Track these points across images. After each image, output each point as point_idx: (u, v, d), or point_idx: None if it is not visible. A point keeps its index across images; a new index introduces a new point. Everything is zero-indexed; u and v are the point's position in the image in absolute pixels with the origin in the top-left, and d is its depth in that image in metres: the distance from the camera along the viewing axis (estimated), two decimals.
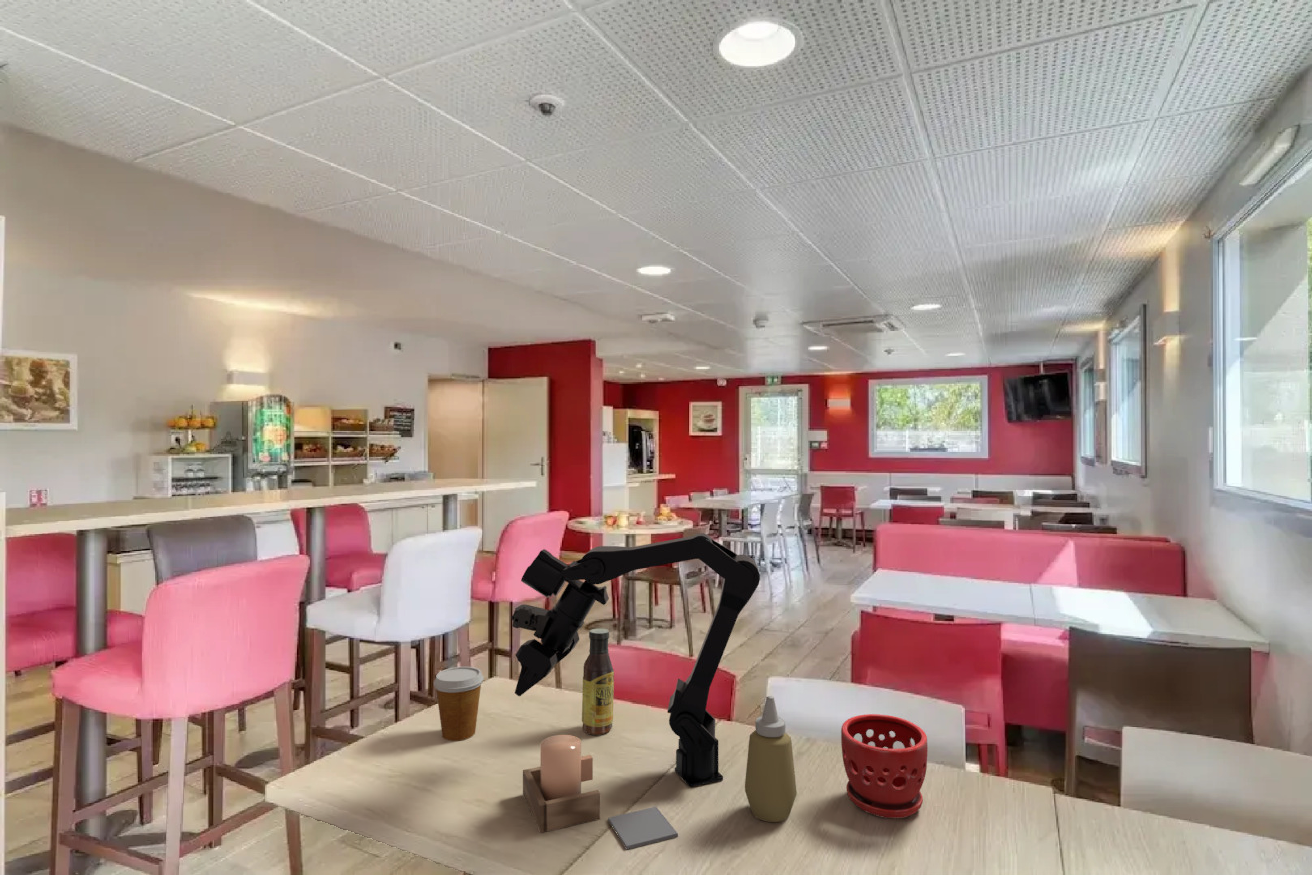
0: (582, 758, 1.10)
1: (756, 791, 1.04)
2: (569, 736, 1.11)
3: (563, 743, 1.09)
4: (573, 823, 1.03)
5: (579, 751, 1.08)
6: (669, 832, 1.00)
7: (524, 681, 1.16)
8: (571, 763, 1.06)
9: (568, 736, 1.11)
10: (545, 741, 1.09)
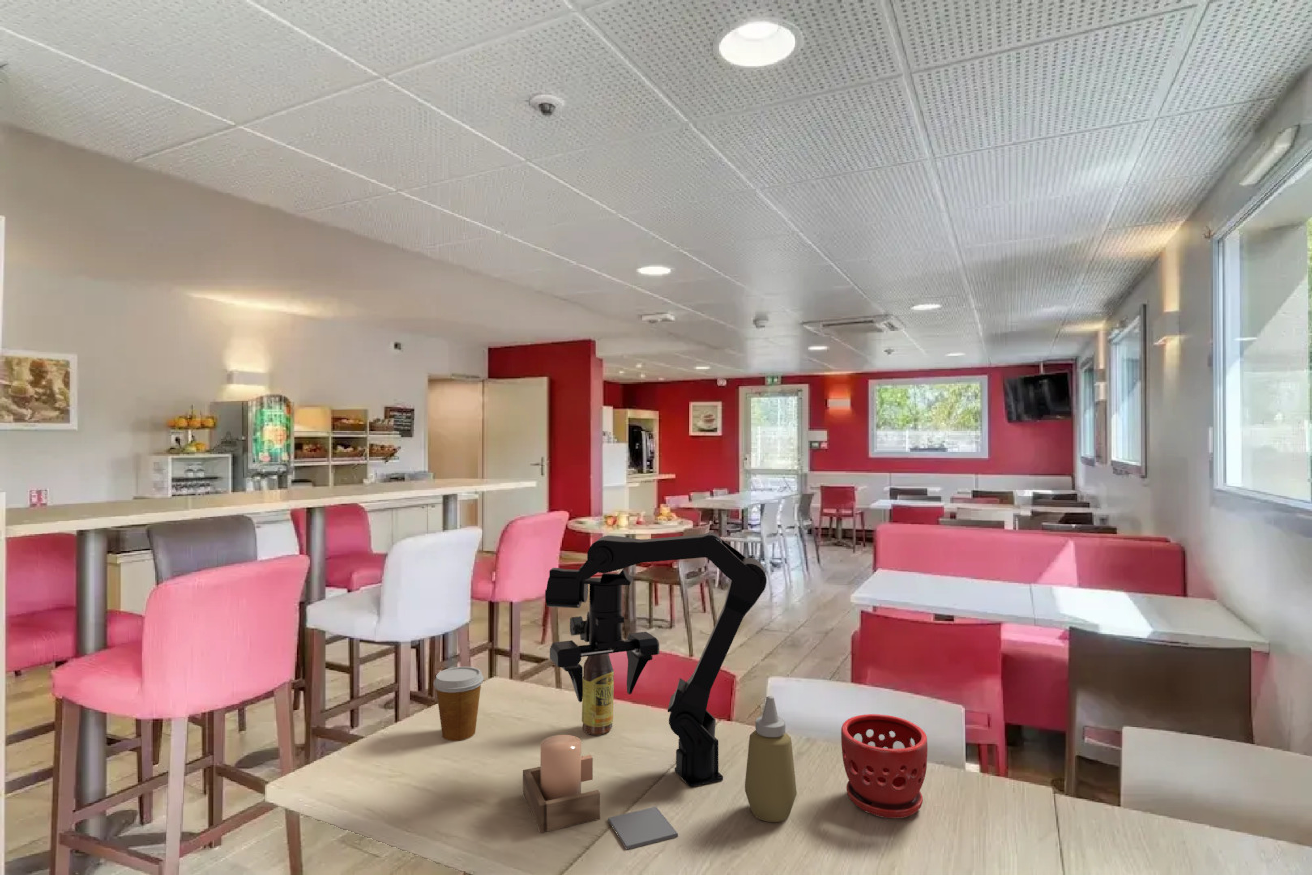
0: (582, 758, 1.10)
1: (756, 791, 1.04)
2: (569, 736, 1.11)
3: (563, 743, 1.09)
4: (573, 823, 1.03)
5: (579, 751, 1.08)
6: (669, 832, 1.00)
7: (574, 684, 1.18)
8: (570, 763, 1.06)
9: (568, 736, 1.11)
10: (545, 741, 1.09)
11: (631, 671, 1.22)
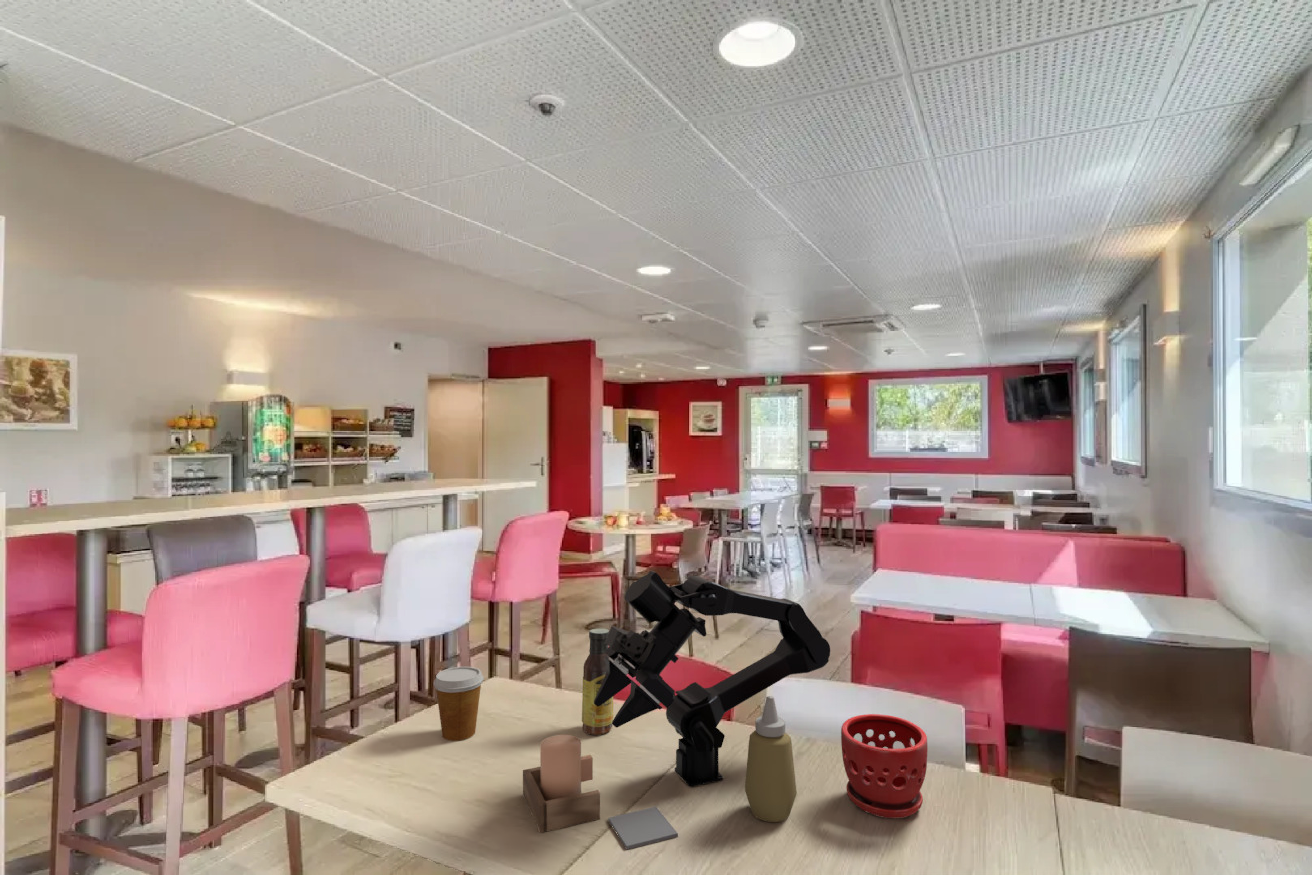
0: (582, 758, 1.10)
1: (756, 791, 1.04)
2: (569, 736, 1.11)
3: (563, 743, 1.09)
4: (573, 823, 1.03)
5: (579, 751, 1.08)
6: (669, 832, 1.00)
7: (629, 712, 1.07)
8: (570, 763, 1.06)
9: (568, 736, 1.11)
10: (545, 741, 1.09)
11: (613, 687, 1.17)
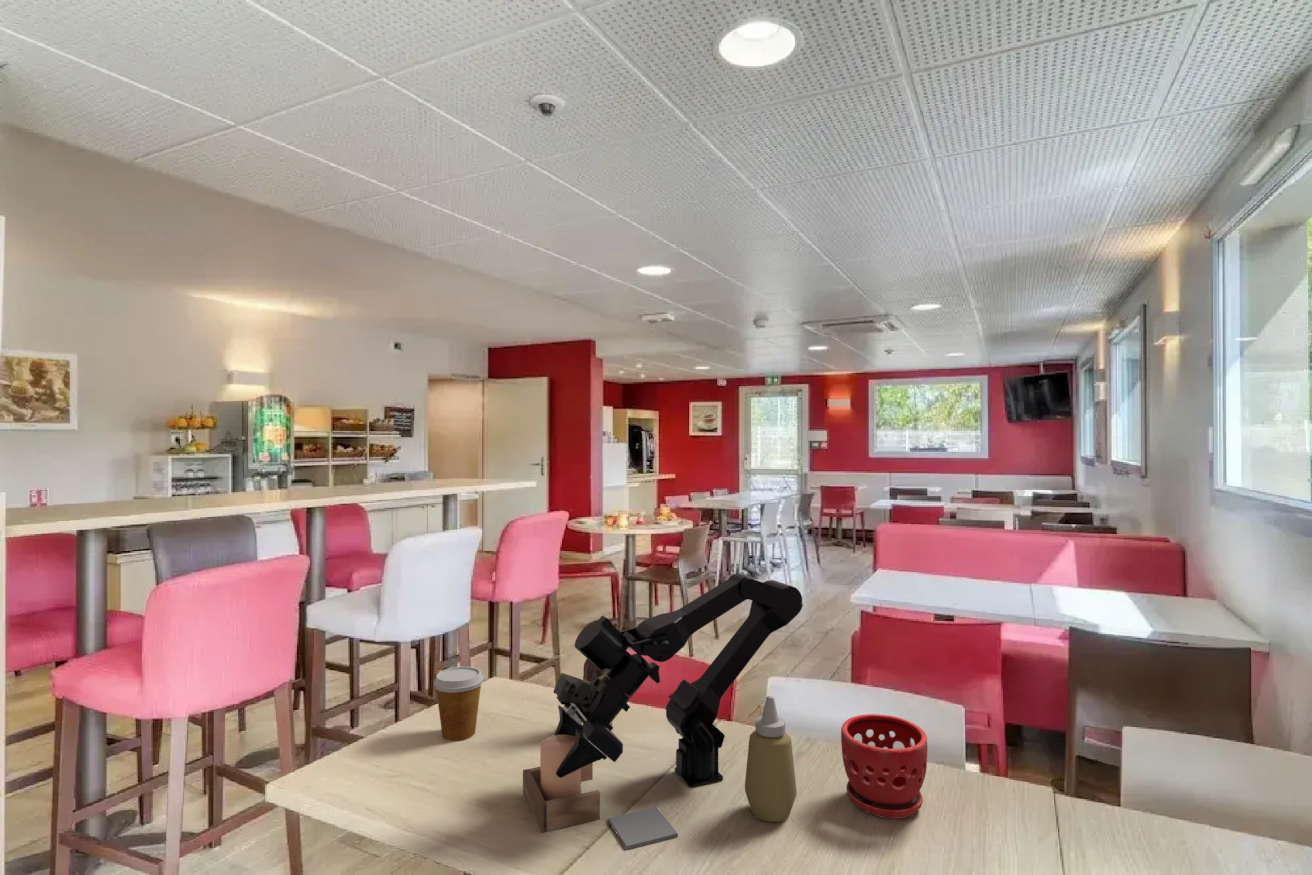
0: None
1: (756, 791, 1.04)
2: (569, 736, 1.11)
3: (563, 743, 1.09)
4: (573, 823, 1.03)
5: None
6: (669, 832, 1.00)
7: (574, 762, 1.05)
8: None
9: (568, 736, 1.11)
10: (545, 741, 1.09)
11: None
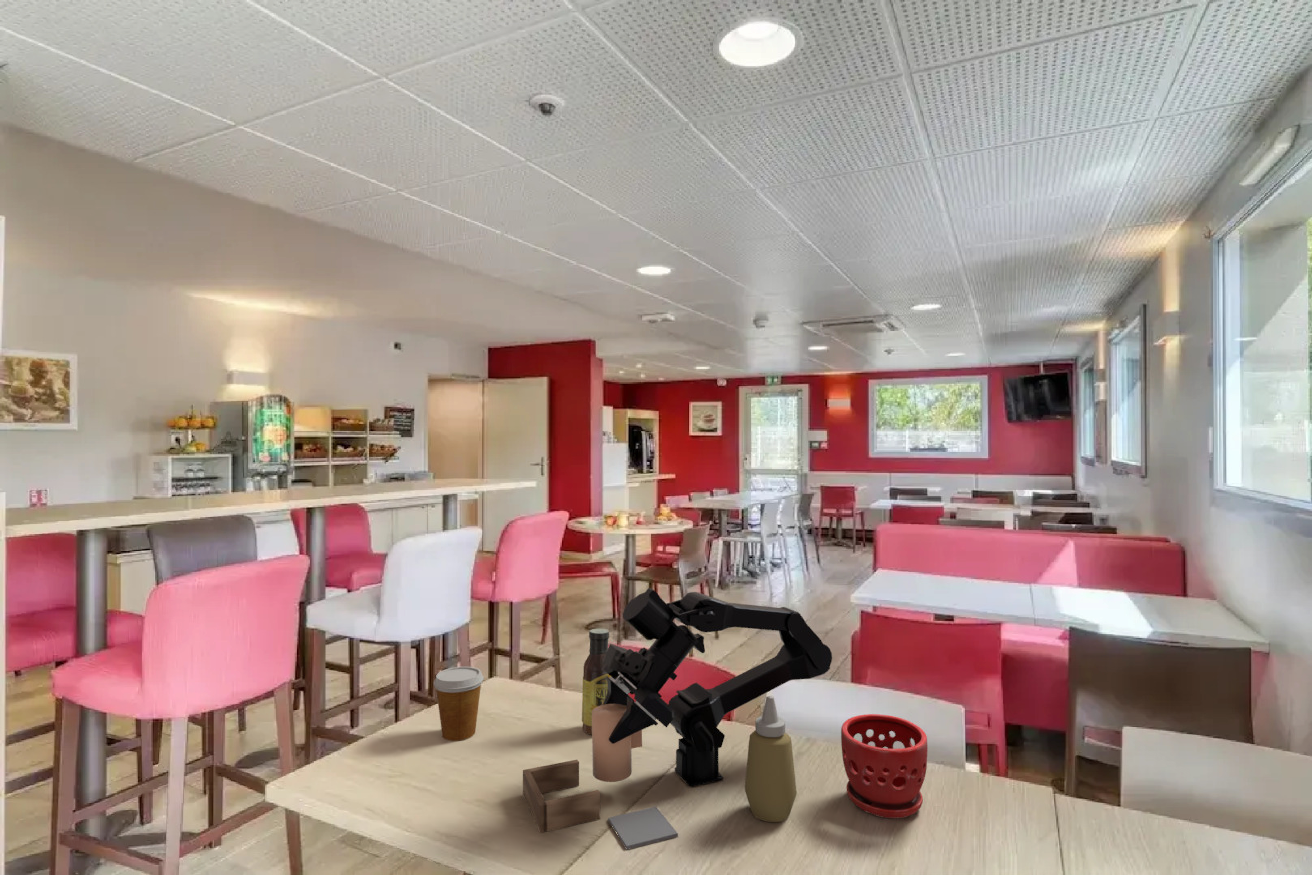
0: None
1: (756, 791, 1.04)
2: (618, 705, 1.15)
3: (613, 711, 1.12)
4: (573, 823, 1.03)
5: None
6: (669, 832, 1.00)
7: (626, 728, 1.08)
8: None
9: (617, 705, 1.15)
10: (596, 709, 1.13)
11: None
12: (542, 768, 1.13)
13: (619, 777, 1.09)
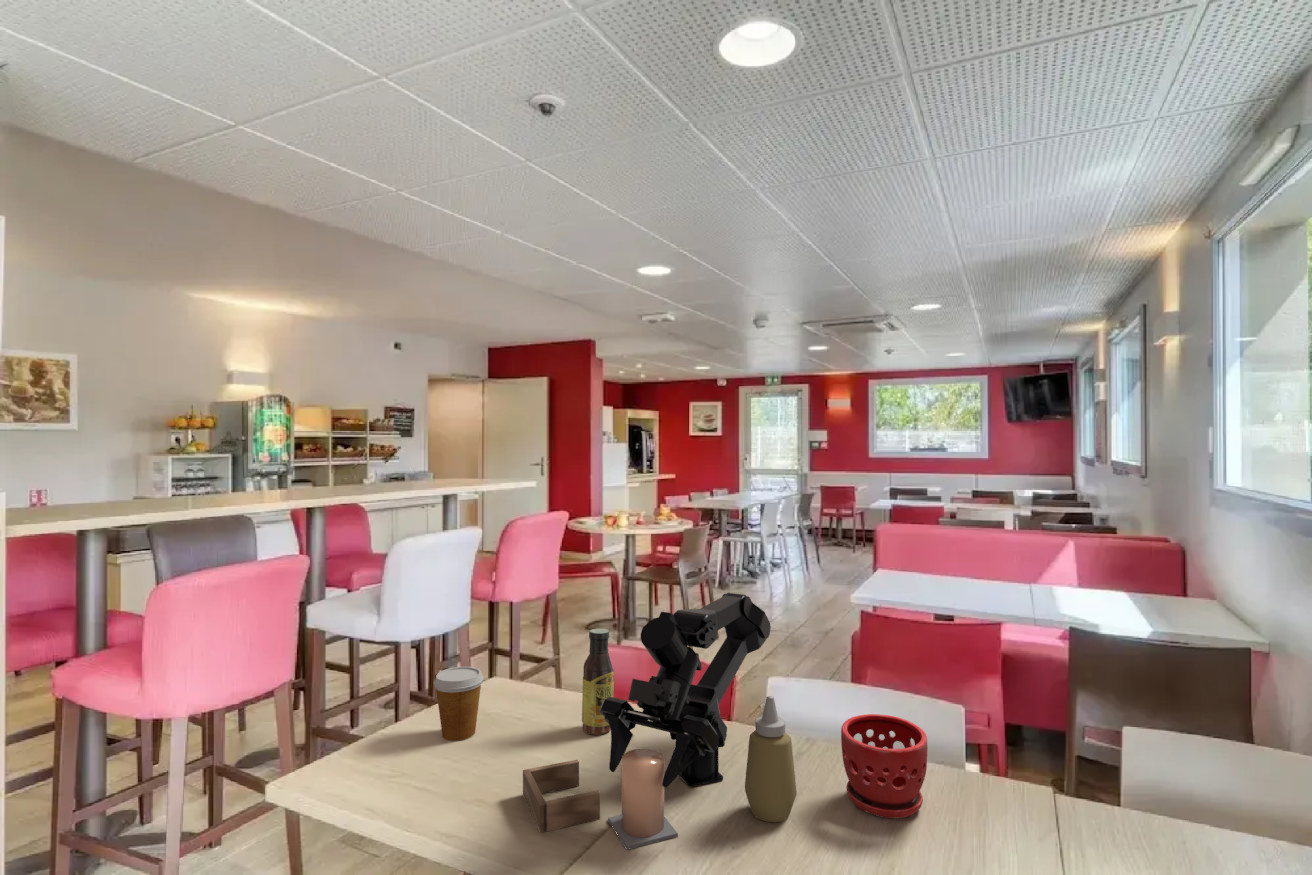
0: None
1: (756, 791, 1.04)
2: (639, 750, 1.05)
3: (645, 757, 1.03)
4: (573, 823, 1.03)
5: None
6: (669, 832, 1.00)
7: (678, 767, 1.00)
8: (663, 774, 1.02)
9: (638, 750, 1.05)
10: (626, 761, 1.02)
11: (622, 745, 1.06)
12: (542, 768, 1.13)
13: (661, 827, 1.01)
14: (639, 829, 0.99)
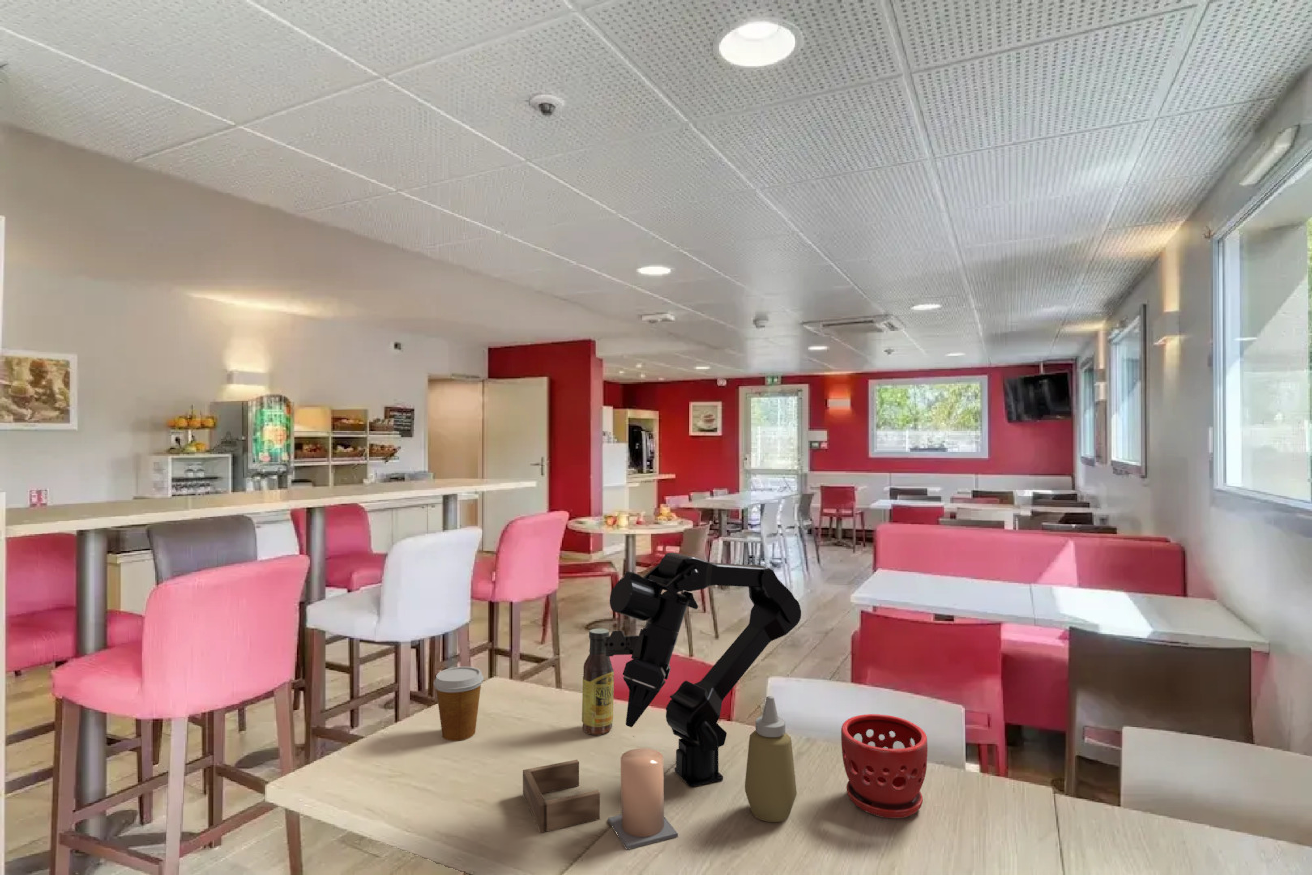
0: None
1: (756, 791, 1.04)
2: (638, 749, 1.05)
3: (644, 757, 1.03)
4: (573, 823, 1.03)
5: None
6: (669, 832, 1.00)
7: (634, 707, 1.06)
8: (662, 773, 1.02)
9: (637, 750, 1.05)
10: (624, 760, 1.02)
11: None
12: (542, 768, 1.13)
13: (661, 826, 1.01)
14: (639, 829, 0.99)
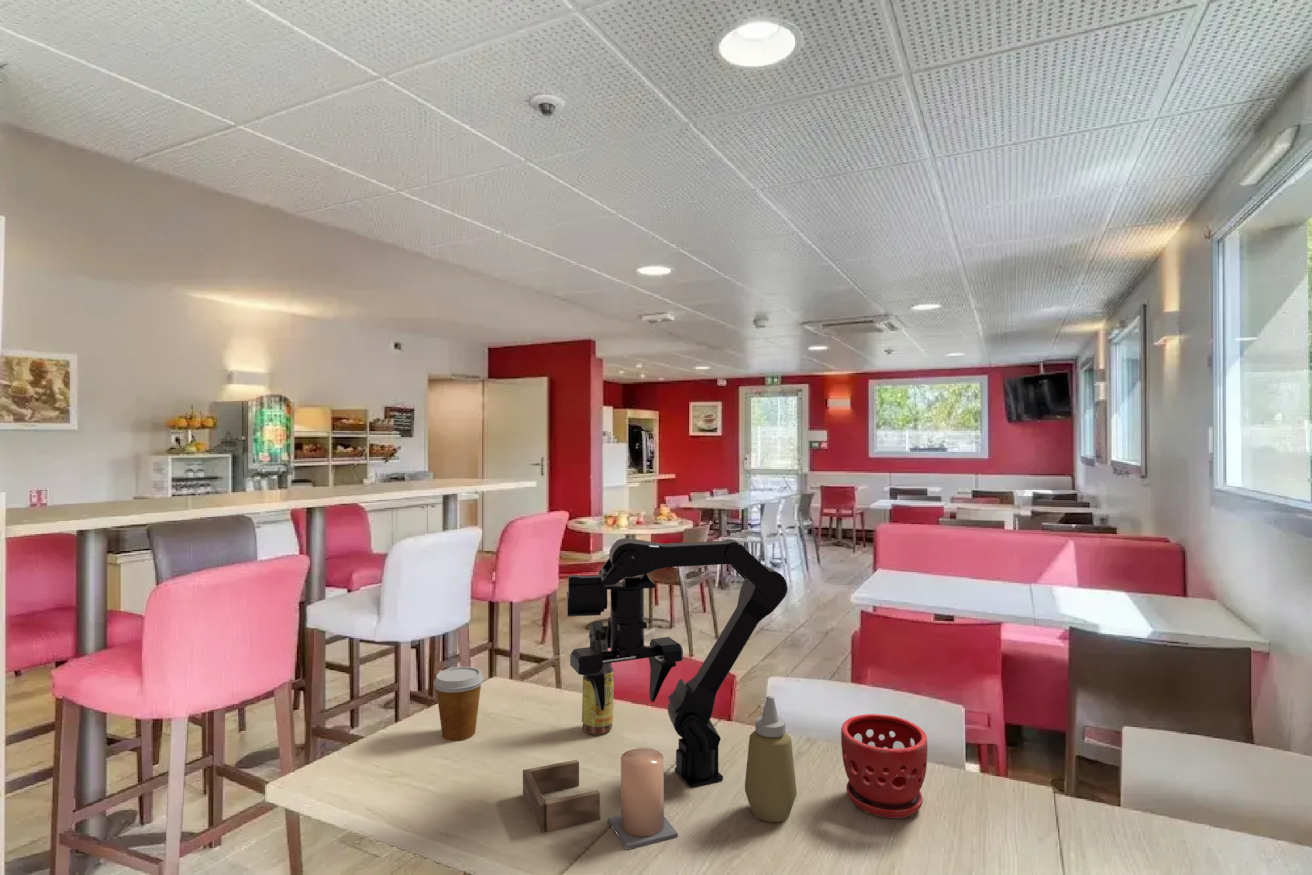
0: None
1: (756, 791, 1.04)
2: (638, 749, 1.05)
3: (644, 756, 1.03)
4: (573, 823, 1.03)
5: None
6: (669, 832, 1.00)
7: (595, 692, 1.14)
8: (662, 773, 1.02)
9: (637, 749, 1.05)
10: (625, 760, 1.02)
11: (654, 678, 1.18)
12: (542, 768, 1.13)
13: (661, 826, 1.01)
14: (638, 828, 0.99)
